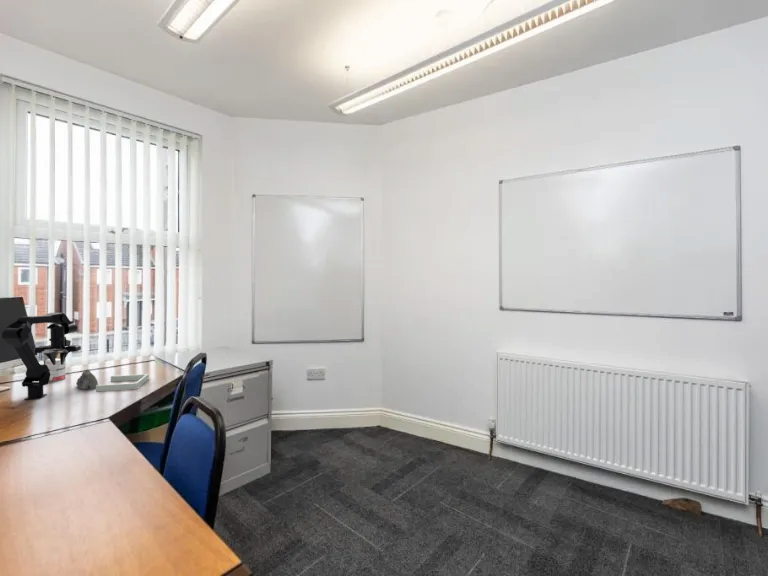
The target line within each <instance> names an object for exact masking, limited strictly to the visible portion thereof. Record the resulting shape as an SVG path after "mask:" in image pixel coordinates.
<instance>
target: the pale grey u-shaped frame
mask: <svg viewBox="0 0 768 576" xmlns="http://www.w3.org/2000/svg"><path fill="white" fill-rule="evenodd" d="M149 378H150V376H149V373H143V374H125V375H110V382H126V381H127V382H128V381H136V382H133V383H132V382H128V383H113V384H112V383H111V384H109V383H108V384H98V385H96V388H95V391H96V392H105V391H106V392H107V391H121V390H136V389H138V388H140V387H141V386H142V385H143V384H145V383H146V382H148V380H149Z"/></svg>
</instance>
